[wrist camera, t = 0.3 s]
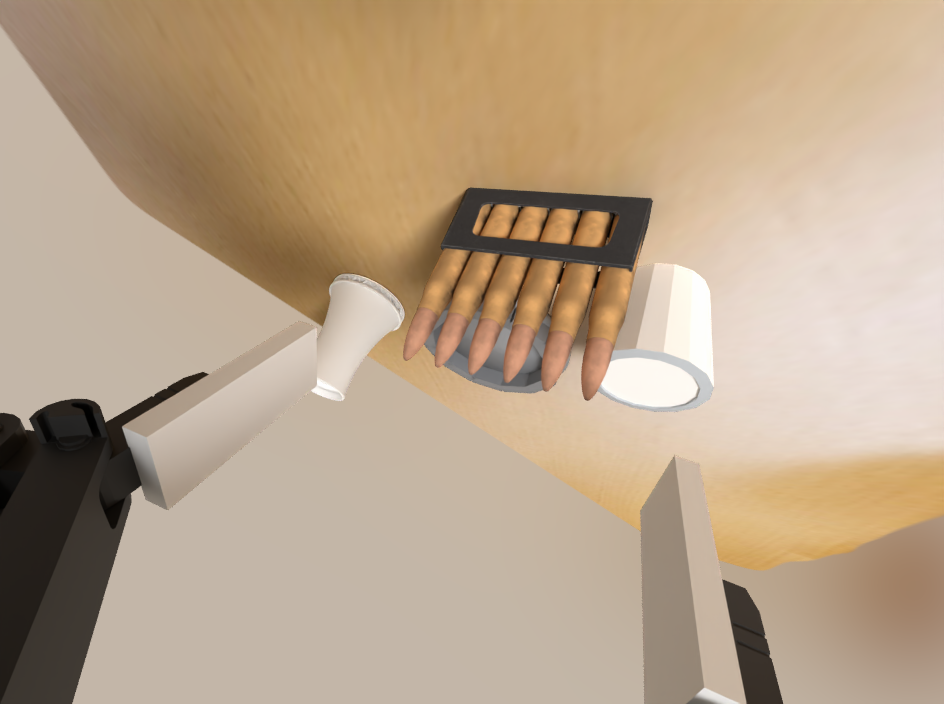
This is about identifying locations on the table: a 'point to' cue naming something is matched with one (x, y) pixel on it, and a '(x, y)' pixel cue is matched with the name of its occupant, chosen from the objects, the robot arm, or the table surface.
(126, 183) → the table surface
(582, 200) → the ammunition clip
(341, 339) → the vase
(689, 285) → the shot glass
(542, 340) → the socket ring
